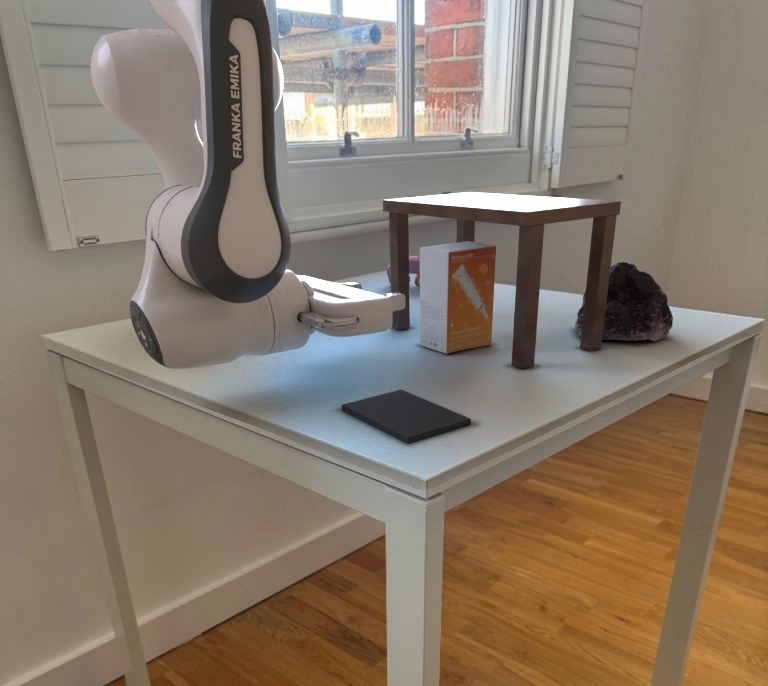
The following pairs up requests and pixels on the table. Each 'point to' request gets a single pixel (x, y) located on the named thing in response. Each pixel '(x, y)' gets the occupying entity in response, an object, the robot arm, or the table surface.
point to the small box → (456, 295)
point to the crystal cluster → (633, 306)
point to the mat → (405, 415)
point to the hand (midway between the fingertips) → (379, 294)
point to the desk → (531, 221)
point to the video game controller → (410, 269)
